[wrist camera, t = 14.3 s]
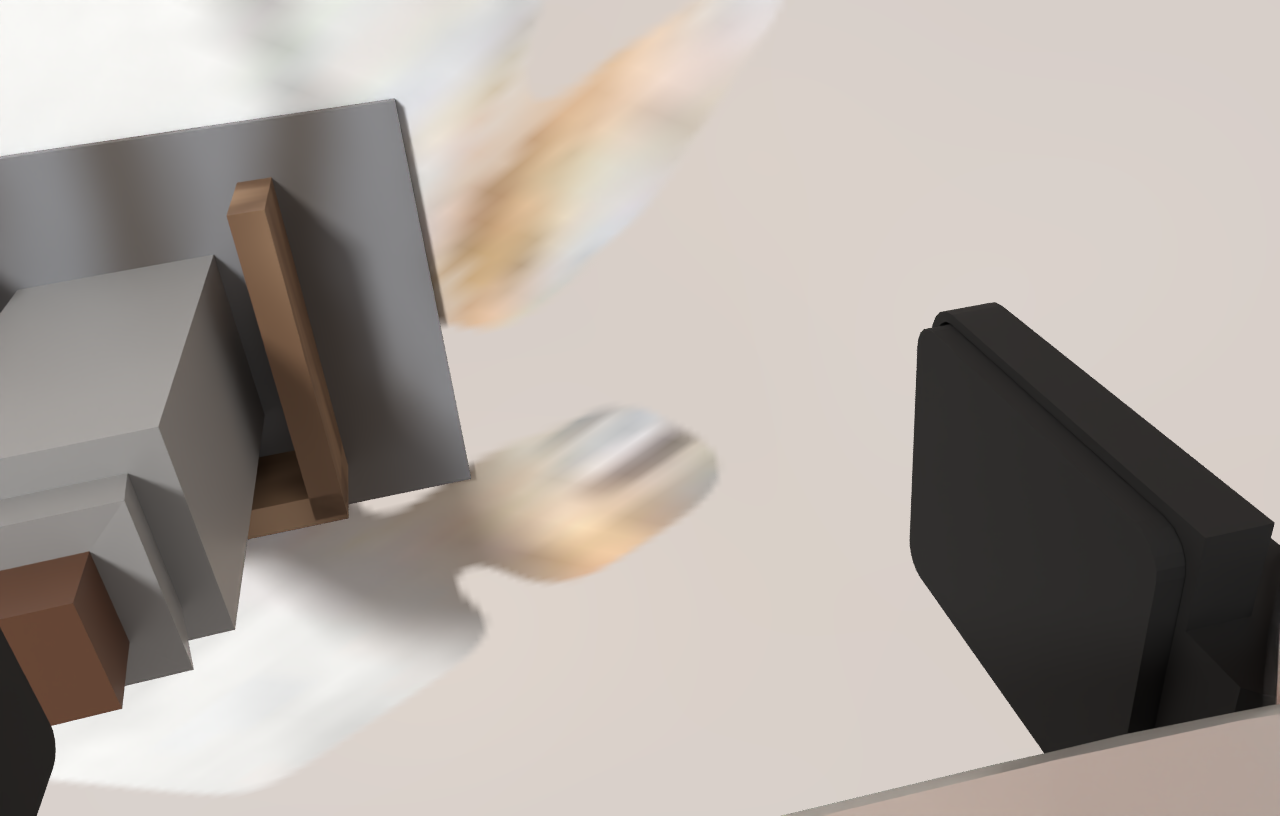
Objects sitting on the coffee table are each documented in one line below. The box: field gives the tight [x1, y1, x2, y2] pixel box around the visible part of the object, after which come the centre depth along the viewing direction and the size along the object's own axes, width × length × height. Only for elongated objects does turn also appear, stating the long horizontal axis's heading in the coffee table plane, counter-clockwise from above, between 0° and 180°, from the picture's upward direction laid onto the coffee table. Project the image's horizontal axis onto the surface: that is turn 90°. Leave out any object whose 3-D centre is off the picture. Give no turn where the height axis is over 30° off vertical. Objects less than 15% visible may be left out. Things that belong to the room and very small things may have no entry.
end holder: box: [0, 99, 471, 539], centre depth 39 cm, size 22×16×4 cm
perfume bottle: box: [0, 255, 265, 726], centre depth 32 cm, size 7×7×18 cm
